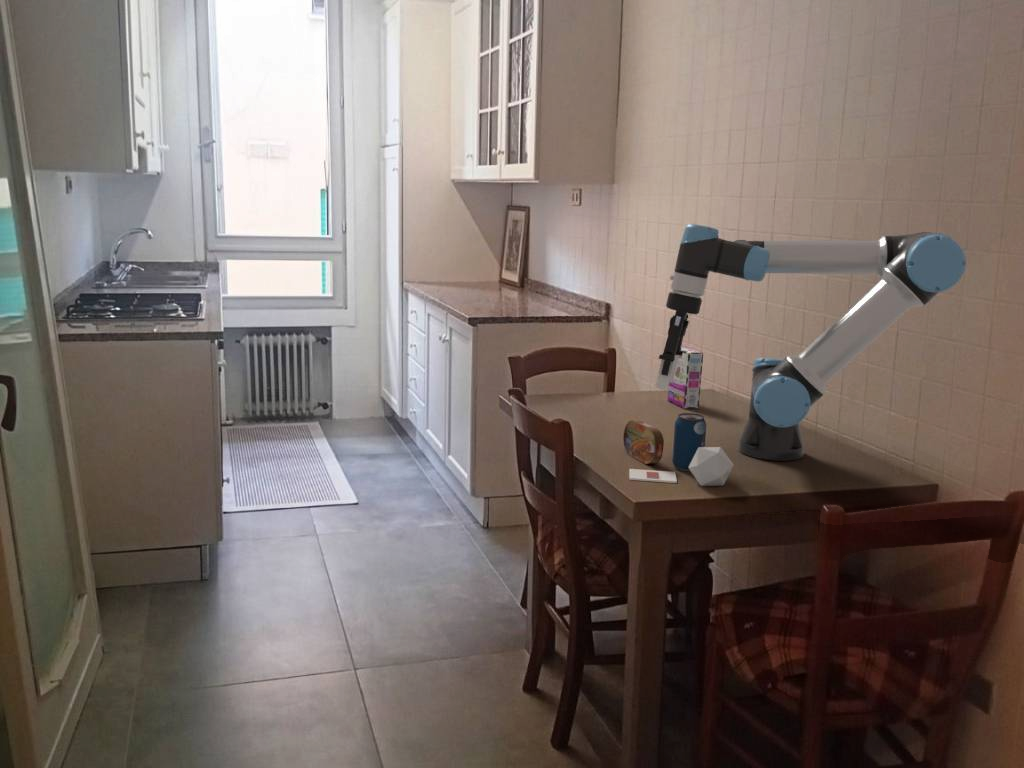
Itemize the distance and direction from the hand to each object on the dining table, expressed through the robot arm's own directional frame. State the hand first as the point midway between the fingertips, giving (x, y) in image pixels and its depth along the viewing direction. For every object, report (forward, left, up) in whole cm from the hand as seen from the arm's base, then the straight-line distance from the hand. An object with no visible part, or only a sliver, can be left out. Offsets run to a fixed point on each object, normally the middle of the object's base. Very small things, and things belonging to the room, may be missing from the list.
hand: (664, 385), depth 219 cm
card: (+2, +15, -17) cm, 23 cm away
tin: (+4, +1, -18) cm, 18 cm away
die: (-10, +17, -18) cm, 26 cm away
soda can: (-6, +6, -18) cm, 20 cm away
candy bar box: (-9, -60, -18) cm, 64 cm away
